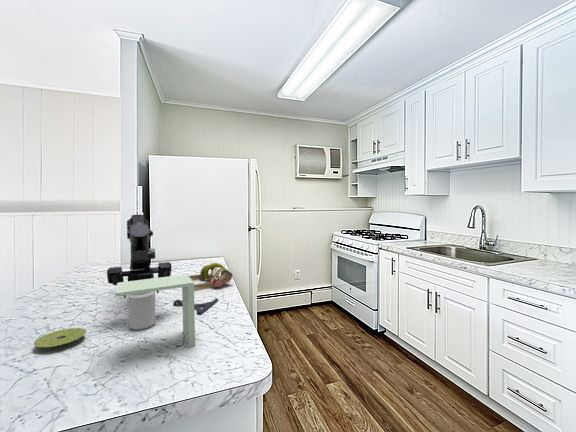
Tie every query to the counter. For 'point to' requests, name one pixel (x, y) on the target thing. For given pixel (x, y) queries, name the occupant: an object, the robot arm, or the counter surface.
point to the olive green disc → (60, 337)
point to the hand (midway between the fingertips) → (141, 295)
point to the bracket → (198, 306)
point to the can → (141, 310)
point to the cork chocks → (202, 285)
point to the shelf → (164, 284)
